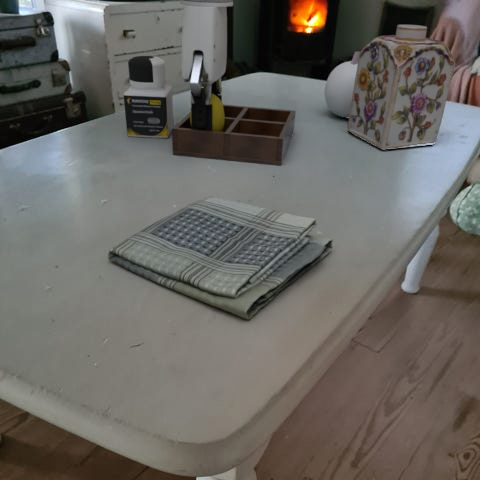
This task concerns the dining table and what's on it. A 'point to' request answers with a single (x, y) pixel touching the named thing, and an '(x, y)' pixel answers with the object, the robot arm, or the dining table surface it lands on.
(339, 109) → the ornament
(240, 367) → the dining table surface
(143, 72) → the medicine bottle
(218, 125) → the lemon
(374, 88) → the decorative jar
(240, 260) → the dish towel
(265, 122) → the divided wooden tray
